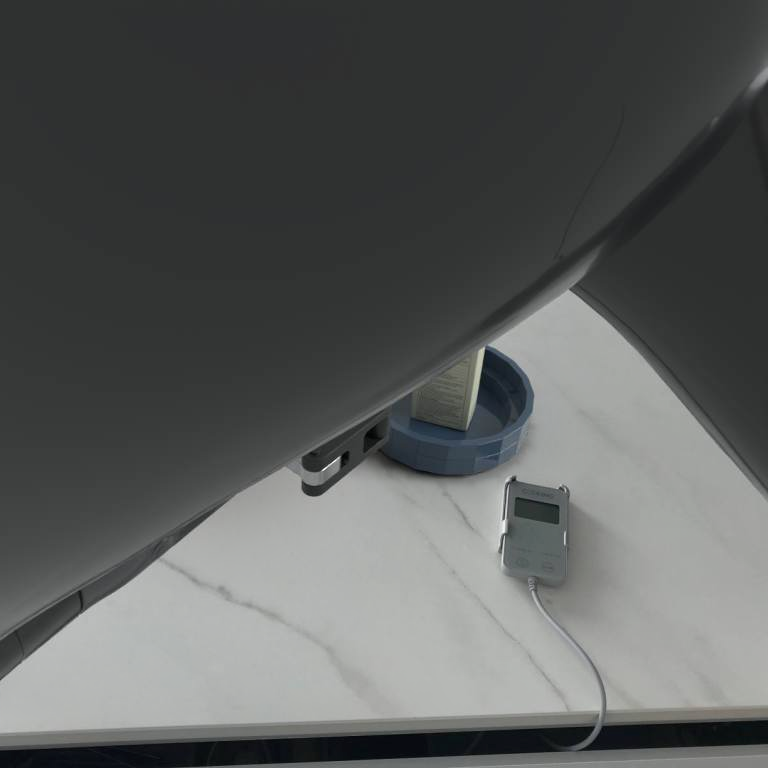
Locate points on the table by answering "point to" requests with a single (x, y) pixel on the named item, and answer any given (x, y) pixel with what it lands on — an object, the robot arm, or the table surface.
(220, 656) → the table surface
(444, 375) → the cosmetic box
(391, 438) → the serving bowl
